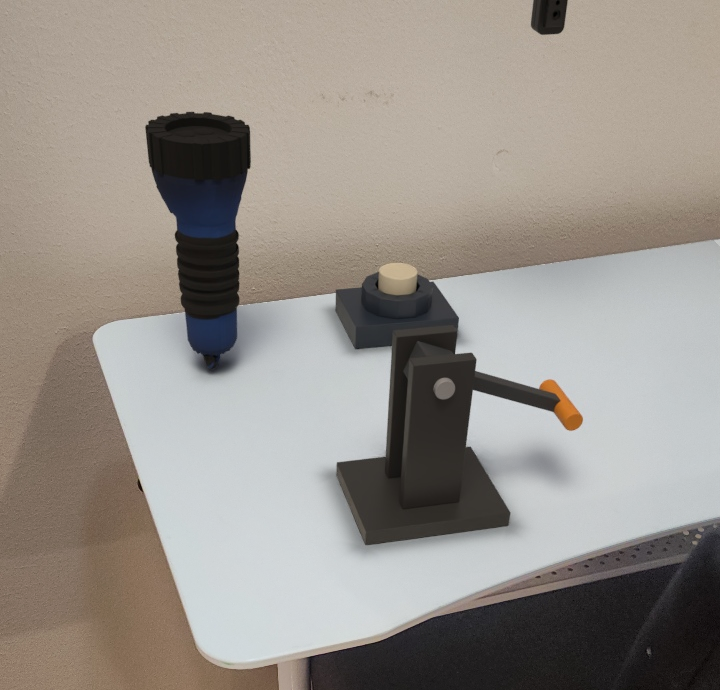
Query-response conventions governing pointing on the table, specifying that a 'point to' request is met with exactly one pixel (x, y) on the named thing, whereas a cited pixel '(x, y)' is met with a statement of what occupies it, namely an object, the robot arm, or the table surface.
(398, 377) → the lever pivot stand
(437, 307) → the block
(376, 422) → the table surface
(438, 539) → the table surface
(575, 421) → the lever with orange handle
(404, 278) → the power button
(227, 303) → the flashlight
